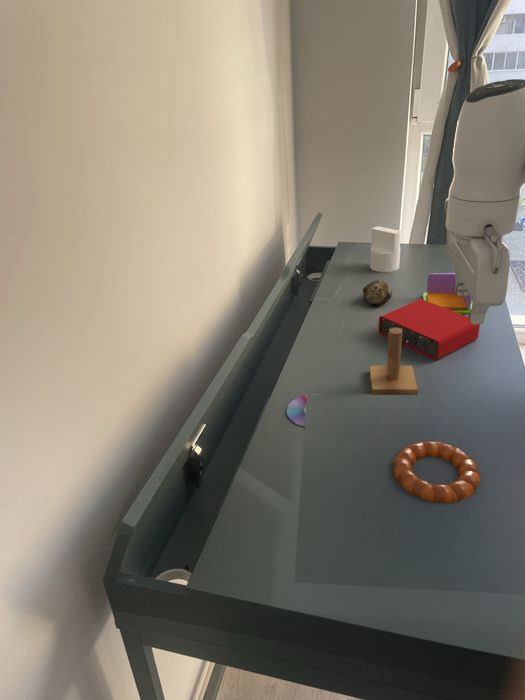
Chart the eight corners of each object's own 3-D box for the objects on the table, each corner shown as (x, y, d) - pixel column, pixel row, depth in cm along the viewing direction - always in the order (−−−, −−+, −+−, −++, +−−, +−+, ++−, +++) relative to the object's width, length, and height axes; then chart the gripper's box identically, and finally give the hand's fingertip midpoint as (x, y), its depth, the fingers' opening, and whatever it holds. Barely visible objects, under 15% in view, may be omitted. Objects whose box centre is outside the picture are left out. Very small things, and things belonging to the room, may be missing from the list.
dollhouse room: (467, 294, 145) (470, 271, 141) (474, 314, 135) (478, 289, 131) (422, 294, 147) (424, 271, 144) (425, 313, 137) (428, 289, 133)
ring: (467, 452, 91) (469, 438, 89) (487, 510, 80) (489, 496, 78) (389, 450, 93) (390, 437, 91) (397, 507, 81) (398, 493, 80)
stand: (411, 371, 114) (415, 319, 108) (417, 395, 106) (422, 341, 100) (369, 371, 115) (371, 320, 109) (372, 395, 107) (374, 341, 101)
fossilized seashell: (394, 301, 139) (396, 291, 148) (382, 279, 138) (385, 271, 147) (368, 313, 142) (372, 303, 151) (356, 292, 141) (361, 284, 150)
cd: (355, 408, 104) (355, 407, 104) (317, 436, 97) (317, 435, 97) (311, 387, 111) (311, 387, 111) (274, 412, 105) (274, 412, 104)
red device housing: (378, 333, 130) (379, 315, 127) (417, 315, 136) (418, 297, 134) (437, 361, 117) (439, 341, 114) (477, 340, 123) (480, 321, 121)
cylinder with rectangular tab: (364, 267, 167) (365, 231, 161) (381, 259, 172) (382, 223, 166) (387, 274, 161) (389, 236, 155) (404, 265, 166) (407, 228, 160)
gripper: (530, 239, 62) (511, 341, 69) (486, 195, 80) (474, 280, 87) (474, 241, 63) (460, 341, 70) (443, 197, 81) (434, 281, 87)
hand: (468, 307), depth 78 cm, fingers open, 8 cm apart
